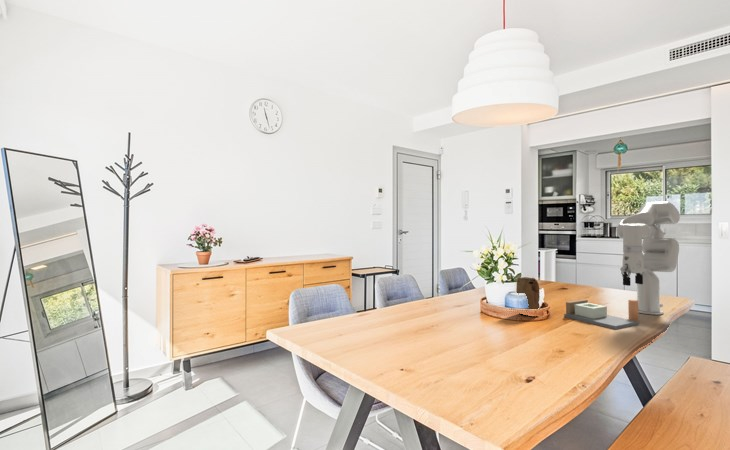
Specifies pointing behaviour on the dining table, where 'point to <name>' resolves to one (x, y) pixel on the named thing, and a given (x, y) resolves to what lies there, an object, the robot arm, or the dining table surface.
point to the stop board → (603, 321)
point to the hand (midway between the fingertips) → (632, 284)
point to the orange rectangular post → (633, 310)
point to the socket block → (590, 310)
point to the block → (529, 290)
